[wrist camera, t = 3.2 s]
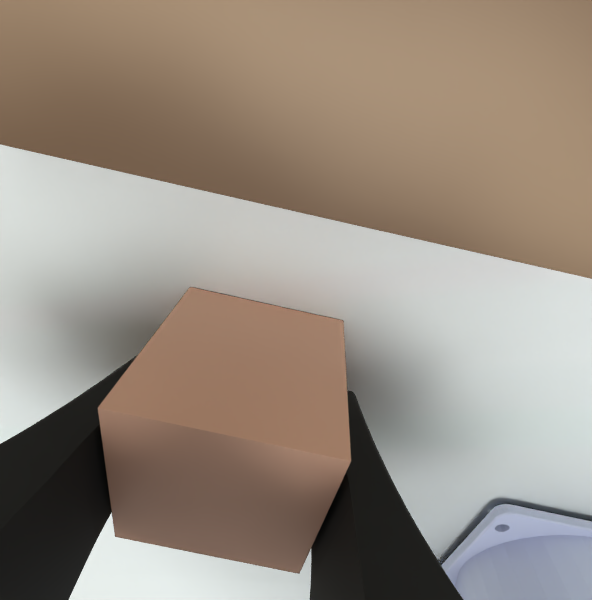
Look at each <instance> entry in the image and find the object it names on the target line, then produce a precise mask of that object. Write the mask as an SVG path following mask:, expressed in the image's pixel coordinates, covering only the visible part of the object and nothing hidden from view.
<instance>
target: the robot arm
mask: <svg viewBox="0 0 592 600" xmlns="http://www.w3.org/2000/svg"><path fill="white" fill-rule="evenodd" d="M137 356H138V355H137ZM137 356H135V357H134V358H133V359H131V360H130V361H128V362H127V363H126V364H124V365H123V366H121V367H120V368H119V369H117V370H116V371H114V372H113V373H112V374H110V375H109V376H107V377H106V378H105V379H103V380H102V381H100V382H99V383H97V384H96V385H94V386H93V387H91V388H90V389H88V390H87V391H86V392H84V393H83V394H81V395H80V396H78V397H77V398H75V399H74V400H72V401H71V402H69V403H68V404H66V405H64V406H63V407H61V408H60V409H58V410H56V411H55V412H53V413H52V414H50V415H48V416H47V417H45V418H44V419H42V420H40V421H39V422H37V423H36V424H34V425H32V426H31V427H29V428H27V429H26V430H24V431H22V432H20V433H19V434H17V435H15V436H14V437H12V438H10V439H8V440H6V441H5V442H3V443H1V444H0V600H69V597H70V595H71V593H72V591H73V589H74V586H75V584H76V582H77V580H78V578H79V576H80V574H81V572H82V569H83V567H84V565H85V563H86V561H87V559H88V557H89V555H90V553H91V550H92V548H93V546H94V544H95V542H96V540H97V538H98V536H99V534H100V532H101V531H102V529H103V527H104V525H105V523H106V521H107V519H108V518H109V516H110V514H111V512H112V510H111V502H110V495H109V488H108V480H107V473H106V466H105V458H104V451H103V443H102V436H101V429H100V421H99V414H98V407H99V406H100V404H101V403H102V402H103V400H104V399H105V398H106V396H107V395H108V394H109V392H110V391H111V390H112V389H113V387H114V386H115V385H116V383H117V382H118V381H119V379H120V378H121V377H122V375H123V374H124V373H125V371H126V370H127V369H128V368H129V366H130V365H131V364H132V362H133V361H134V360H135V358H136V357H137ZM347 396H348V414H349V432H350V450H351V462H350V465H349V467H348V469H347V471H346V473H345V475H344V478H343V480H342V482H341V484H340V486H339V489H338V491H337V493H336V495H335V497H334V499H333V502H332V504H331V506H330V508H329V510H328V512H327V515H326V517H325V519H324V521H323V523H322V525H321V528H320V530H319V532H318V534H317V536H316V538H315V541H314V543H313V545H312V547H311V553H312V563H311V589H310V600H592V521H587V520H583V519H578V518H573V517H568V516H563V515H559V514H554V513H549V512H544V511H540V510H535V509H530V508H525V507H520V506H516V505H511V504H501V505H498V506H495V507H494V508H493V509H492V510H491V511H490V512H489V513H488V514H487V515H486V517H485V518H484V519H483V520H482V521H481V522H480V523H479V524H478V525H477V526H476V528H475V529H474V530H473V531H472V532H471V533H470V534H469V535H468V536H467V537H466V539H465V540H464V541H463V542H462V543H461V544H460V545H459V546H458V547H457V548H456V550H455V551H454V552H453V553H452V554H451V555H450V556H449V557H448V558H447V559H446V561H445V562H444V563H443V564H442V565H440V563H439V562H438V560H437V559H436V557H435V555H434V554H433V552H432V550H431V549H430V547H429V546H428V544H427V542H426V541H425V539H424V537H423V536H422V534H421V532H420V531H419V529H418V527H417V525H416V524H415V522H414V520H413V518H412V517H411V515H410V513H409V511H408V509H407V508H406V506H405V504H404V502H403V500H402V498H401V496H400V494H399V493H398V491H397V489H396V487H395V485H394V483H393V481H392V479H391V477H390V475H389V473H388V471H387V469H386V467H385V465H384V462H383V460H382V458H381V456H380V454H379V452H378V450H377V448H376V445H375V443H374V441H373V439H372V436H371V434H370V431H369V429H368V427H367V424H366V422H365V419H364V417H363V414H362V412H361V409H360V407H359V404H358V401H357V399H356V396H355V394H354V393H353V392H351V391H347Z"/></svg>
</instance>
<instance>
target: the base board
mask: <svg viewBox="0 0 592 600" xmlns="http://www.w3.org/2000/svg"><path fill="white" fill-rule="evenodd" d="M0 144H1V145H6V146H10V147H14V148H19V149H23V150H28V151H32V152H36V153H41V154H45V155H50V156H54V157H58V158H63V159H67V160H72V161H76V162H81V163H85V164H89V165H94V166H98V167H103V168H107V169H111V170H116V171H120V172H125V173H129V174H133V175H138V176H142V177H147V178H151V179H155V180H160V181H164V182H169V183H173V184H177V185H182V186H186V187H191V188H195V189H199V190H204V191H208V192H213V193H217V194H221V195H226V196H230V197H235V198H239V199H243V200H248V201H252V202H257V203H261V204H265V205H270V206H274V207H279V208H283V209H287V210H292V211H296V212H301V213H305V214H310V215H314V216H318V217H323V218H327V219H332V220H336V221H340V222H345V223H349V224H354V225H358V226H362V227H367V228H371V229H376V230H380V231H384V232H389V233H393V234H398V235H402V236H406V237H411V238H415V239H420V240H424V241H428V242H433V243H437V244H442V245H446V246H450V247H455V248H459V249H464V250H468V251H472V252H477V253H481V254H486V255H490V256H494V257H499V258H503V259H508V260H512V261H517V262H521V263H525V264H530V265H534V266H539V267H543V268H547V269H552V270H556V271H561V272H565V273H569V274H574V275H578V276H583V277H587V278H591V279H592V0H0Z"/></svg>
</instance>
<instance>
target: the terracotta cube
mask: <svg viewBox="0 0 592 600" xmlns="http://www.w3.org/2000/svg"><path fill="white" fill-rule="evenodd" d="M98 414H99V421H100V429H101V436H102V443H103V451H104V458H105V466H106V473H107V480H108V488H109V495H110V502H111V510H112V517H113V524H114V532H115V537H119V538H124V539H129V540H134V541H139V542H144V543H149V544H154V545H159V546H164V547H169V548H174V549H179V550H184V551H189V552H194V553H199V554H204V555H209V556H214V557H219V558H224V559H229V560H234V561H239V562H244V563H249V564H254V565H259V566H264V567H269V568H273V569H278V570H283V571H288V572H293V573H298V574H299V573H300V571H301V569H302V567H303V564H304V562H305V560H306V558H307V556H308V554H309V551H310V549H311V547H312V545H313V543H314V541H315V538H316V536H317V534H318V532H319V530H320V528H321V525H322V523H323V521H324V519H325V517H326V515H327V512H328V510H329V508H330V506H331V504H332V502H333V499H334V497H335V495H336V493H337V491H338V489H339V486H340V484H341V482H342V480H343V478H344V475H345V473H346V471H347V469H348V467H349V465H350V462H351V450H350V432H349V414H348V396H347V378H346V360H345V342H344V324H343V320H338V319H333V318H329V317H324V316H320V315H315V314H311V313H306V312H302V311H297V310H293V309H288V308H283V307H279V306H274V305H270V304H265V303H261V302H256V301H252V300H247V299H243V298H238V297H233V296H229V295H224V294H220V293H215V292H211V291H206V290H202V289H197V288H193V287H190V288H189V289H188V290H187V292H186V293H185V294H184V296H183V297H182V298H181V299H180V301H179V302H178V303H177V305H176V306H175V307H174V309H173V310H172V311H171V313H170V314H169V315H168V316H167V318H166V319H165V320H164V322H163V323H162V324H161V326H160V327H159V328H158V330H157V331H156V332H155V333H154V335H153V336H152V337H151V339H150V340H149V341H148V343H147V344H146V345H145V347H144V348H143V349H142V351H141V352H140V353H139V354H138V356H137V357H136V358H135V360H134V361H133V362H132V364H131V365H130V366H129V368H128V369H127V370H126V371H125V373H124V374H123V375H122V377H121V378H120V379H119V381H118V382H117V383H116V385H115V386H114V387H113V389H112V390H111V391H110V392H109V394H108V395H107V396H106V398H105V399H104V400H103V402H102V403H101V404H100V406H99V407H98Z"/></svg>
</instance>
